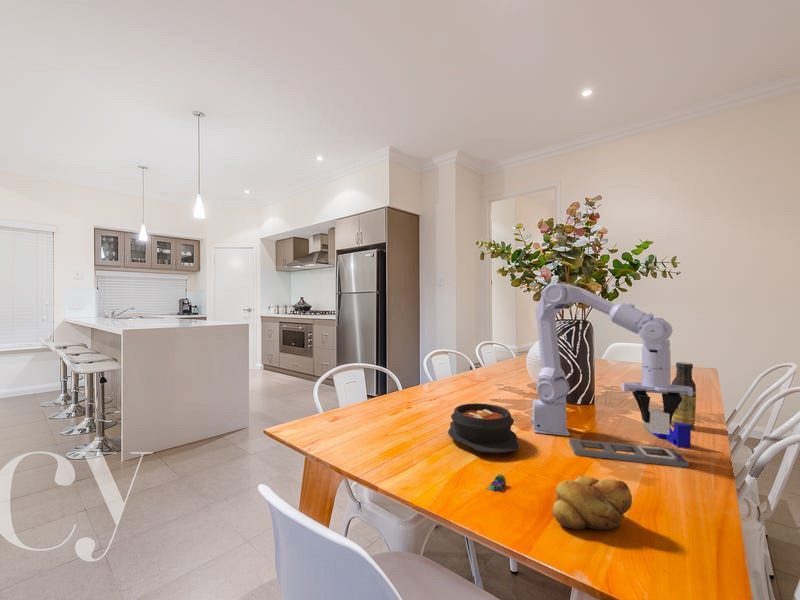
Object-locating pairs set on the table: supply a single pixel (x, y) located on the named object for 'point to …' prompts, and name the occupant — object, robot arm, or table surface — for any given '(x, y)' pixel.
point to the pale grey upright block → (658, 421)
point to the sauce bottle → (685, 396)
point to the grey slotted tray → (639, 451)
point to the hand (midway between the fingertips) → (656, 422)
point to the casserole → (483, 428)
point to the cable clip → (678, 435)
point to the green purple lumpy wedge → (497, 483)
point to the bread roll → (591, 503)
